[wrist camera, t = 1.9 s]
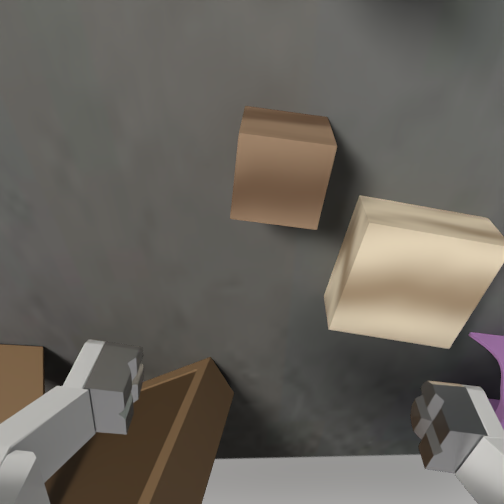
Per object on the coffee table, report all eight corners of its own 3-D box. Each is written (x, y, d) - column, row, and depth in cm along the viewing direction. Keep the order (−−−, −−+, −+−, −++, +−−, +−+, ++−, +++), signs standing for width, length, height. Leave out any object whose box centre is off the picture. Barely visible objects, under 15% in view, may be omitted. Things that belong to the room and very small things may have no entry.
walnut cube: (245, 105, 25) (239, 132, 21) (327, 116, 25) (337, 146, 21) (237, 181, 28) (230, 218, 24) (311, 191, 28) (316, 229, 24)
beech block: (358, 192, 28) (369, 222, 25) (485, 215, 29) (513, 247, 25) (323, 293, 33) (328, 329, 30) (432, 311, 34) (449, 348, 30)
